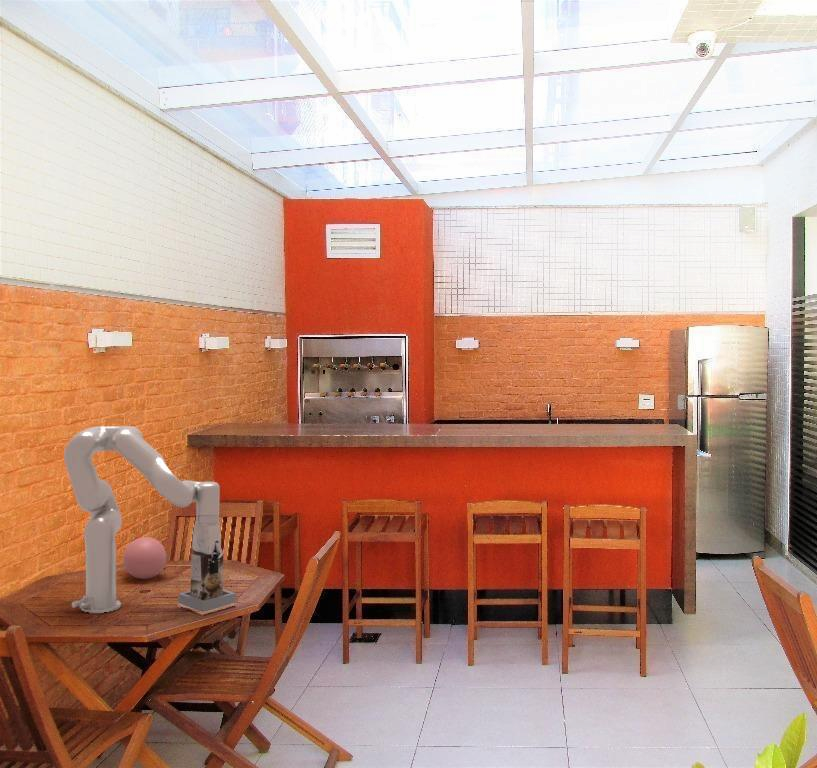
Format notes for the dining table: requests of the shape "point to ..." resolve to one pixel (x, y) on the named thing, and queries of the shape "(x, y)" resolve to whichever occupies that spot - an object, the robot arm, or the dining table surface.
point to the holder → (206, 601)
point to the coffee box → (205, 577)
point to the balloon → (144, 558)
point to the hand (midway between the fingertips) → (206, 571)
